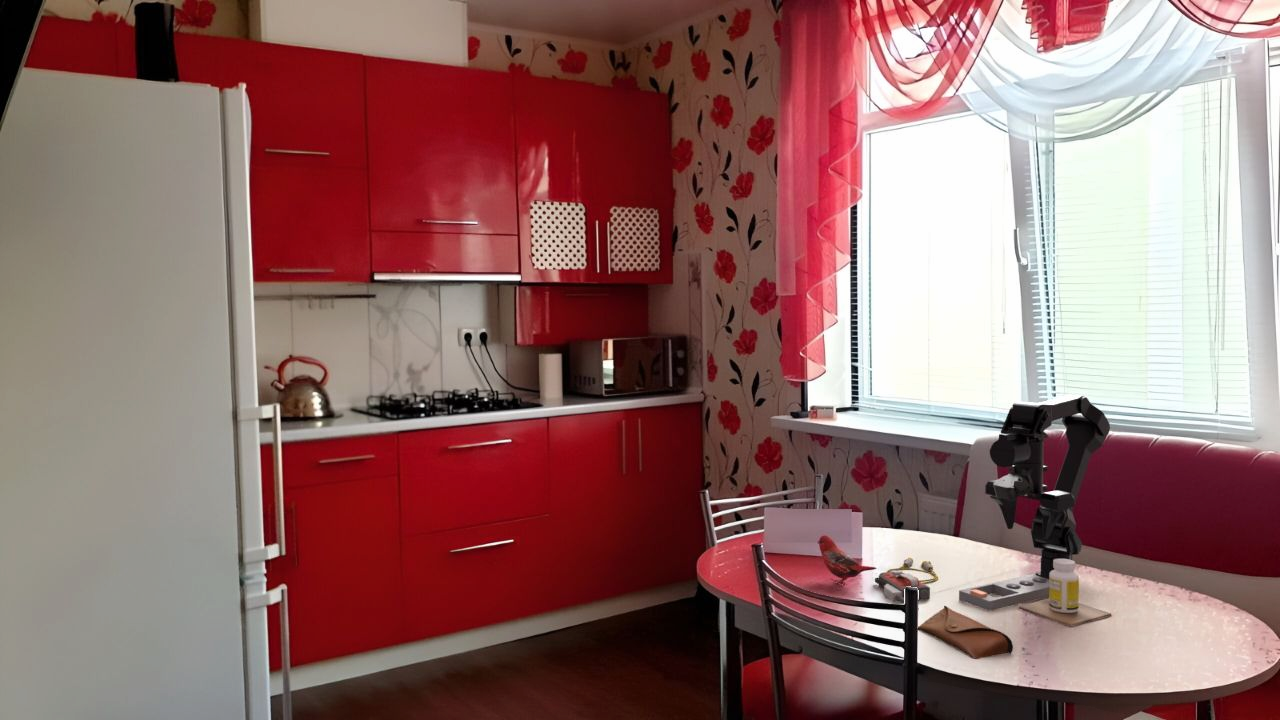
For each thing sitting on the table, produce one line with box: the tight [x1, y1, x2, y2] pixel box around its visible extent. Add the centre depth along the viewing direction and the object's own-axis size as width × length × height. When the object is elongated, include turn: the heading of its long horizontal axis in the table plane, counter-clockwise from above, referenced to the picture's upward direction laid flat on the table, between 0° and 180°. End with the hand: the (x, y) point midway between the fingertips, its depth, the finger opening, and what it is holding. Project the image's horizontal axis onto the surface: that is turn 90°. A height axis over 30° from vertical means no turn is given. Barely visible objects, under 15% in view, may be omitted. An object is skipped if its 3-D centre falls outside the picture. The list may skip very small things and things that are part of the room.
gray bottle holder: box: [958, 573, 1049, 612], centre depth 200 cm, size 22×8×3 cm, turn 118°
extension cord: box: [886, 557, 939, 585], centre depth 217 cm, size 12×16×2 cm
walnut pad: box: [1018, 598, 1112, 628], centre depth 190 cm, size 12×12×1 cm
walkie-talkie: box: [874, 570, 931, 611], centre depth 201 cm, size 9×4×20 cm
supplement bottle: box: [1048, 559, 1080, 613], centre depth 190 cm, size 5×5×10 cm
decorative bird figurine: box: [817, 534, 878, 586], centre depth 208 cm, size 3×18×10 cm, turn 33°
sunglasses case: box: [917, 605, 1014, 660], centre depth 177 cm, size 18×7×7 cm, turn 22°
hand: (1027, 533), depth 204 cm, fingers open, 9 cm apart
